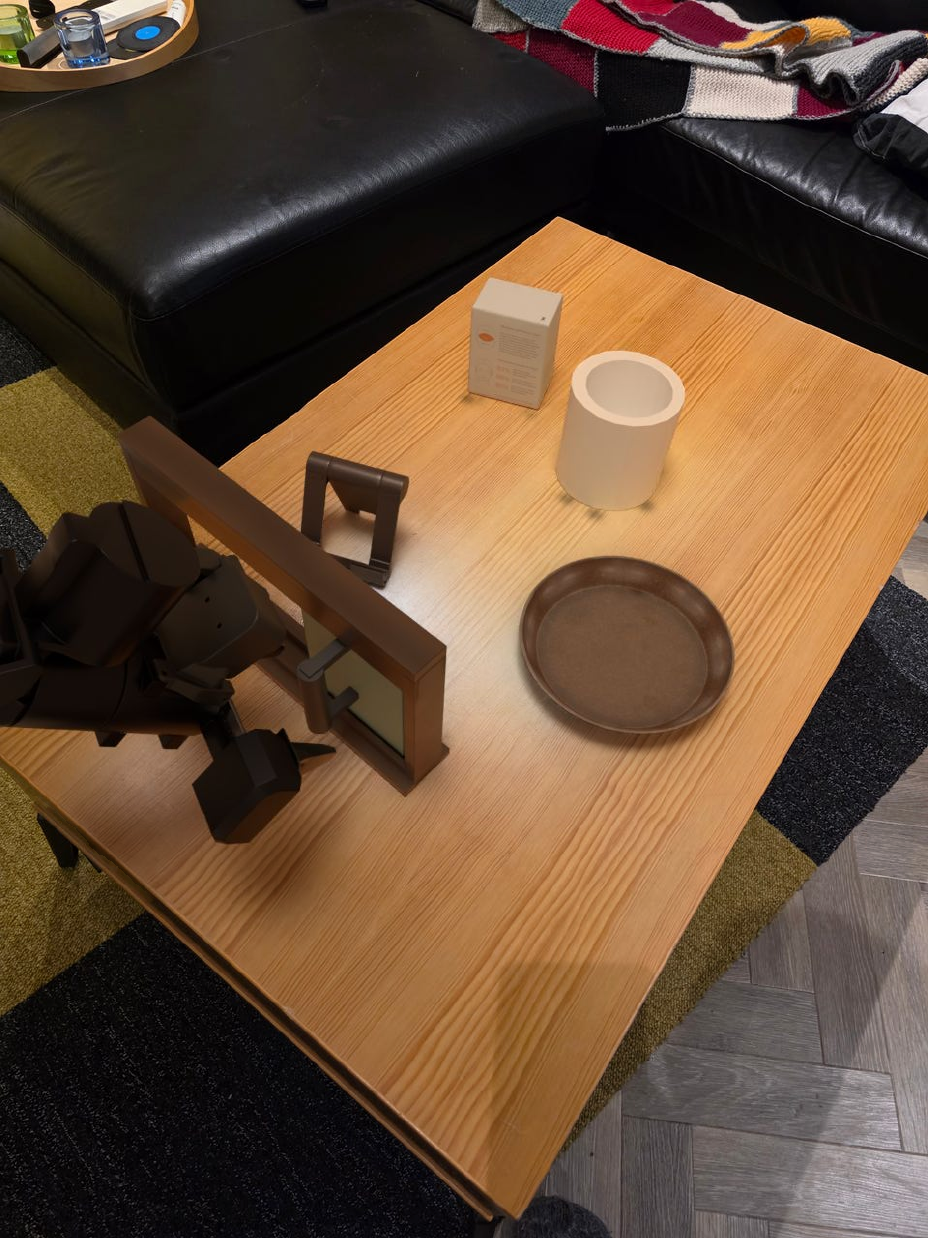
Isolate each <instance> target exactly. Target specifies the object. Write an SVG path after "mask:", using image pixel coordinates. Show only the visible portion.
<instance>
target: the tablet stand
mask: <svg viewBox="0 0 928 1238" xmlns="http://www.w3.org/2000/svg"><path fill="white" fill-rule="evenodd" d="M304 471H305V472H304V482H303V483H304V484H303V496H302V508H301V520H300V521H301V522H300V532H301V533H302V534H303V535H305V536H306V537H307V538H308V539H310V540H311V541H312V542H314V543H315V544H316V545H317V546H319V547H320V548H321V549H322V547H321V546H322V537H323V536H322V535H323V526H324V517H325V516H324V515H325V505H326V504H325V503H326V495H327V487H328V484H329V485H331V488H332V490H333V492H334V493H335V495H336V497H337V498H338V500H339V502H340V503H341V505H342V507H343V509H344V510H345V511H347V512H350V513H353V514H357V515H360V513H361V512H364V513H367V514H371V515H374V516H375V517H374V525H373V533H372V540H371V541H372V542H371V549H370V555H369V560H368V563H364V562H362V561H358V560H355V559H351V558H347V557H344V556H341V555H336V554H333V553H331V552H327V553H328V554H329V555H330V556H332V557H333V558H334V559H336V560H337V561H338V562H339V563H341V564H342V565H343V566H345V567H346V568H347V569H348V570H350V571H351V572H352V573H354V574H355V575H356V576H357V577H359V578H360V579H361V580H363V581H364V582H368V583H371V584H374V585H379V586H380V587H381V586H382V587H385V586H386V585H387V583H388V581H389V578H390V574H391V570H392V569H391V568H392V563H393V562H392V561H393V554H394V550H395V549H394V547H395V542H396V535H397V534H396V533H397V527H398V520H399V514H400V507H401V505H402V503H403V501H404V499H405V498H406V496H407V493H408V489H409V485H410V478H409V476H408V475H404V474H400V473H397V472H393V471H390V470H386V469H383V468H378V467H375V466H371V465H367V464H364V463H360V462H357V461H353V460H349V459H345V458H341V457H338V456H334V455H330V454H327V453H323V452H320V451H315V450H312V451H311V452H310V453H309V454H308V457H307V459H306V462H305V470H304Z"/></svg>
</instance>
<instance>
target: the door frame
mask: <svg viewBox="0 0 928 1238" xmlns="http://www.w3.org/2000/svg"><path fill="white" fill-rule="evenodd" d="M116 438H117V441H118V444H119V446H120V449H121V451H122V453H123V454H122V455H123V457H124V460H125V462H126V466H127V468H128V470H129V473H130V476H131V479H132V481H133V484H134V487H135V490H136V492H137V496H138V497H139V501H140V503H141V505H143V506H145V507H148V508H149V509H151V510H153V511H155V512H157V513H158V514H160V515H162V516H163V517H164V518H166V519H167V520H169V521H170V522H171V523H173V524H174V525H175V526H176V527H177V528H178V529H179V530H180V531H181V532H182V533H183V534H184V535H185V536H186V537H187V539H188V540H189V541H190V542H191V544H192V545H193V547H196V548H203V549H210V547H208V546H207V545H205V544H204V543H203V542H199V543H198V544H197V543H196V539H195V537H194V533H193V530H192V526H191V523H190V520H189V518H190V519H192V520H193V521H194V522H196V524H197V525H198V526H200V528H203V529H204V530H205V531H206V532H207V533H208V534H210V535H211V536H212V537H213V538H215V539H216V540H217V541H218V542H219V543H221V544H222V545H223V546H224V547H225V548H227V549H228V550H229V551H230V552H231V553H233V555H236V556H237V557H238V559H239V560H241V561H243V562H244V563H245V564H246V565H248V566H249V567H250V568H251V569H252V570H254V571H255V572H256V573H257V574H258V575H260V577H262V578H263V579H264V580H266V581H267V582H268V583H269V584H271V585H272V586H273V587H274V588H275V589H276V590H278V591H279V592H280V593H281V594H283V595H284V596H285V597H286V598H287V599H289V600H290V601H292V602H293V603H294V604H295V605H296V606H297V607H299V609H300V610H301V609H302V610H304V611H305V612H306V613H307V614H309V615H310V616H311V617H312V618H313V619H315V620H316V621H317V622H318V623H320V624H321V625H322V626H323V627H324V628H326V629H327V630H328V631H329V632H331V633H332V634H333V635H334V636H335V637H337V638H338V639H339V640H340V641H341V642H343V643H344V644H345V645H346V646H348V647H349V648H350V649H351V650H352V651H354V652H355V653H356V654H357V655H359V656H360V657H361V658H362V659H363V660H365V661H366V662H367V663H368V664H369V665H371V666H372V667H373V668H374V669H376V670H377V671H378V672H379V673H380V674H382V675H383V676H384V677H385V678H387V679H388V680H389V681H390V682H391V683H393V684H394V685H395V686H396V687H398V688H399V689H400V690H401V691H402V692H404V740H405V755H404V756H402V755H401V754H400V753H399V752H398V751H397V750H395V749H394V748H393V747H392V746H391V745H390V744H388V743H387V742H386V741H385V740H384V739H383V738H381V737H380V736H379V735H378V734H377V733H376V732H374V731H373V730H372V729H371V728H370V727H369V726H367V725H366V724H365V723H364V722H363V721H362V720H360V719H359V718H358V717H357V716H356V715H355V714H353V713H352V712H351V711H350V710H349V709H347V710H346V711H344V712H343V713H342V714H341V715H340V716H339V717H338V718H336V719H335V720H334V721H333V722H332V727H331V728H330V730H329V732H331V733H332V734H333V735H334V736H335V737H336V738H337V739H338V740H340V741H341V742H342V743H343V744H345V745H346V747H348V748H349V749H350V750H351V751H352V752H354V753H355V754H356V755H357V757H359V758H361V760H362V761H364V762H365V763H366V764H367V765H369V767H370V768H372V769H373V770H374V771H375V772H376V773H377V774H379V775H380V776H381V777H382V778H383V779H384V780H385V781H387V782H388V783H389V784H390V785H391V786H392V787H393V788H395V789H396V790H397V792H399V793H400V794H401V795H402V796H404V797H407V795H408V794H410V792H411V791H413V790H414V789H415V788H416V787H417V786H418V785H419V784H420V783H421V782H422V781H423V780H424V779H425V778H426V777H427V776H428V775H429V774H430V773H431V772H432V771H433V770H434V769H435V768H436V767H437V766H438V765H439V764H440V763H442V761H443V760H444V759H445V758H446V757H447V756H448V755H449V754H450V751H451V749H450V747H449V746H448V745H446V743H444V742H443V724H444V710H445V709H444V707H445V692H446V691H445V688H446V671H447V651H448V649H447V648H448V646H447V644H445V643H444V642H442V640H440V639H439V638H437V637H436V636H435V635H434V634H432V633H431V632H430V631H428V630H427V629H426V628H425V627H423V626H422V625H421V624H420V623H419V622H417V621H415V619H413V618H412V617H410V616H409V615H408V614H407V613H405V612H404V611H403V610H402V609H400V608H399V607H398V606H396V605H395V604H394V603H392V602H391V601H389V600H388V598H386V597H385V596H384V595H382V594H381V593H379V592H378V591H377V590H376V589H374V588H373V587H371V586H370V585H369V584H368V583H366V581H364V580H361V579H360V578H359V577H357V576H356V575H355V574H354V573H352V572H351V571H350V570H348V569H347V568H346V567H345V566H343V565H342V564H341V563H339V562H338V561H337V560H336V559H334V558H333V557H332V556H330V555H329V554H328V553H329V552H327V551H325V550H324V549H323V548H322V547H321V548H320V547H319V546H317V545H316V544H315V543H314V542H312V541H311V540H310V539H308V538H307V537H306V536H305V535H303V534H302V533H301V531H300V530H298V529H297V528H296V527H295V526H293V525H292V524H290V523H289V522H288V521H287V520H285V519H284V518H283V517H281V515H279V514H278V513H276V512H275V511H274V510H273V509H271V508H270V507H269V506H267V505H266V504H264V503H263V502H262V501H261V500H259V499H258V498H257V497H255V495H253V494H252V493H250V492H249V491H248V490H247V489H246V488H244V487H243V486H242V485H240V484H239V483H237V481H235V480H234V479H233V478H231V477H230V476H228V475H227V474H226V472H225V473H224V472H223V471H222V470H221V469H219V468H218V467H217V466H216V465H214V464H213V463H212V462H210V461H209V460H208V459H207V458H205V457H204V456H202V454H200V453H199V452H198V451H197V450H195V449H194V448H193V447H191V446H190V445H189V444H188V443H186V442H185V441H183V440H182V439H181V438H180V437H178V436H177V435H176V434H174V433H173V432H172V431H171V430H169V429H168V428H167V427H166V426H164V425H163V424H161V423H160V422H159V421H158V420H157V419H156V418H154V417H152V416H151V415H148V416H146V417H145V418H143V419H141V420H140V421H138V422H136V423H134V424H133V425H131V426H130V427H128V428H126V429H124V430H123V431H121V432H119V433H118V434H116ZM270 600H271V602H272V603H273V605H274V607H275V609H276V611H277V613H278V615H279V617H280V619H281V620H282V621H283V623H284V625H285V627H286V631H287V634H286V639H285V641H284V643H283V645H284V647H285V649H284V650H283V651H282V653H281V654H280V655H279V656H277V657H273V658H265V659H260V660H258V661H257V662H255V663H254V664H253V665H255V667H256V668H258V669H259V670H260V671H262V673H264V674H265V675H266V676H267V677H268V678H269V679H271V681H273V682H274V683H275V684H276V685H277V686H278V687H279V688H281V689H282V691H284V692H285V693H287V694H288V695H289V696H290V697H291V698H292V699H293V700H295V702H297V703H298V704H299V705H300V706H301V707H303V702H302V697H301V692H300V687H299V683H298V678H297V673H296V669H297V666H298V665H299V663H301V662H302V661H303V660H306V659H310V657H309V651H308V646H307V640H306V635H305V629H304V625H302V624H301V623H300V622H298V621H297V620H296V619H295V618H293V616H291V615H290V614H289V613H288V612H286V611H285V610H284V609H283V608H282V607H280V606H279V605H278V604H277V603H275V601H273V600H272V599H271V598H270ZM327 692H328V691H327ZM328 698H329V703H330V702H331V701H332V700H334V699H335V697H334V696H332V695H331V694H330V693H329V692H328Z"/></svg>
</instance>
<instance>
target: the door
mask: <svg viewBox="0 0 928 1238" xmlns="http://www.w3.org/2000/svg"><path fill="white" fill-rule="evenodd" d="M300 612H301V617H302V622H303V627H304V629H305V635H306V640H307V646H308V651H309V657H310V659H306V660H303V661H302V662H301V663H299V665H298V666H297V669H296V673H297V678H298V683H299V687H300V692H301V697H302V702H303V706H302V708H303V712H304V717H305V719H306V720H305V721H306V725H307V726H306V727H307V729H308V730H309V732H311V733H312V734H314V735H325V734H326V733H328V732H330V728H331V727H332V722H333V721H334V720H335V719H336V718H338V717H339V716H340V715H341V714H342V713H343V712H344V711H346V710H347V709H349V710H350V711H351V712H352V713H353V714H355V715H356V716H357V717H358V718H359V719H360V720H362V721H363V722H364V723H365V724H366V725H367V726H369V727H370V728H371V729H372V730H373V731H374V732H376V733H377V734H378V735H379V736H380V737H381V738H383V739H384V740H385V741H386V742H387V743H388V744H390V745H391V746H392V747H393V748H394V749H395V750H397V751H398V752H399V753H400V754H401V755H402V756H404V755H405V740H404V692H402V691H401V690H400V689H399V688H398V687H396V686H395V685H394V684H393V683H391V682H390V681H389V680H388V679H387V678H385V677H384V676H383V675H382V674H380V673H379V672H378V671H377V670H376V669H374V668H373V667H372V666H371V665H369V664H368V663H367V662H366V661H365V660H363V659H362V658H361V657H360V656H359V655H357V654H356V653H355V652H354V651H352V650H351V649H350V648H349V647H348V646H346V645H345V644H344V643H343V642H341V641H340V640H339V639H338V638H337V637H335V636H334V635H333V634H332V633H331V632H329V631H328V630H327V629H326V628H324V627H323V626H322V625H321V624H320V623H318V622H317V621H316V620H315V619H313V618H312V617H311V616H310V615H309V614H307V613H306V612H305V611H304V610H302V609H301V608H300ZM327 691H328V692H329V693H330V694H331V695H332V696H334V697H335V699H334V700H332V701H331V702H330V703H329V698H328V692H327Z"/></svg>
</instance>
